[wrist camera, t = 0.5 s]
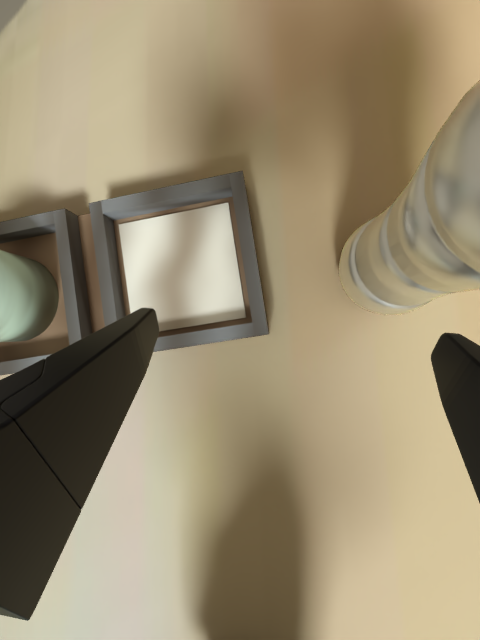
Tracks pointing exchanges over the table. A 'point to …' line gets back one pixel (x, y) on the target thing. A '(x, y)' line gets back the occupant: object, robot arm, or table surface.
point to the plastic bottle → (424, 227)
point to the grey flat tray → (132, 270)
